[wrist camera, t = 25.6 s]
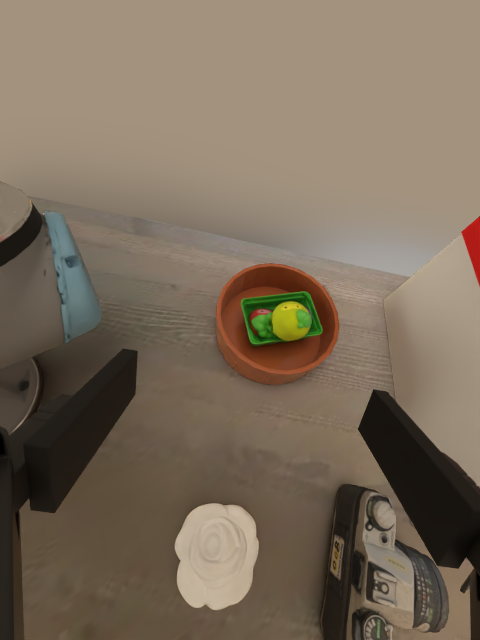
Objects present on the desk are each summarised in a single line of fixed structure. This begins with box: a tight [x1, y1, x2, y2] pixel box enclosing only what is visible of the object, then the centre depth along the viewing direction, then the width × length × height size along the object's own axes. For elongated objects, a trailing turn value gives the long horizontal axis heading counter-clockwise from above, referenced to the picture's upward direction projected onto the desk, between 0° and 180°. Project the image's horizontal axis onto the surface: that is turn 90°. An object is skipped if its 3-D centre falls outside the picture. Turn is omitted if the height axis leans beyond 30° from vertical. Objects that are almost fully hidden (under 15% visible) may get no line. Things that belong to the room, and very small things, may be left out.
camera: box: [321, 484, 449, 640], centre depth 27 cm, size 16×10×10 cm, turn 162°
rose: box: [175, 503, 259, 610], centre depth 29 cm, size 10×4×10 cm
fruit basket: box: [241, 291, 323, 347], centre depth 38 cm, size 11×9×11 cm
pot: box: [216, 263, 339, 385], centre depth 41 cm, size 18×18×6 cm
